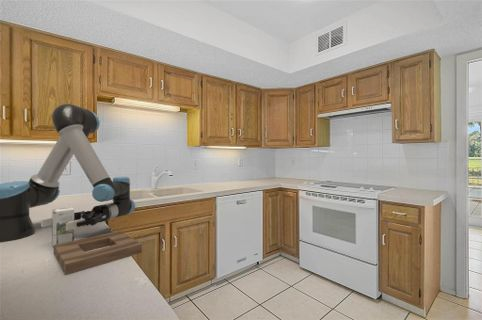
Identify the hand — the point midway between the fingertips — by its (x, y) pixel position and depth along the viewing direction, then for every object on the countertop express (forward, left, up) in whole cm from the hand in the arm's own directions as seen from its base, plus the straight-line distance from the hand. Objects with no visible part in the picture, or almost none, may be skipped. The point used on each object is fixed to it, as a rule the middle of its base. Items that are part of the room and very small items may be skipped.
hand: (53, 225), depth 86 cm
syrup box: (-1, +3, -9) cm, 10 cm away
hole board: (+16, +10, -9) cm, 21 cm away
